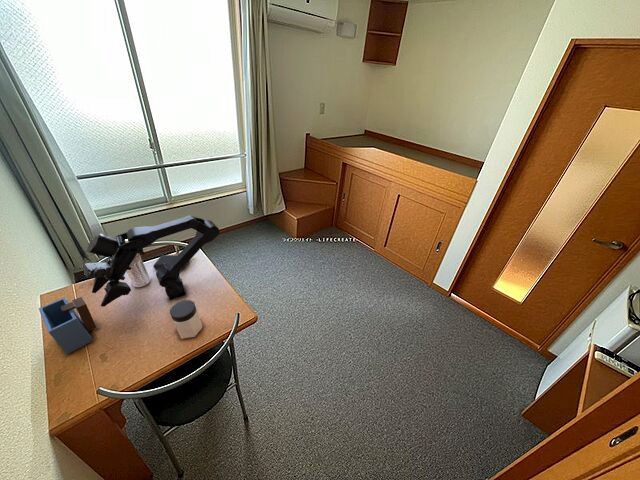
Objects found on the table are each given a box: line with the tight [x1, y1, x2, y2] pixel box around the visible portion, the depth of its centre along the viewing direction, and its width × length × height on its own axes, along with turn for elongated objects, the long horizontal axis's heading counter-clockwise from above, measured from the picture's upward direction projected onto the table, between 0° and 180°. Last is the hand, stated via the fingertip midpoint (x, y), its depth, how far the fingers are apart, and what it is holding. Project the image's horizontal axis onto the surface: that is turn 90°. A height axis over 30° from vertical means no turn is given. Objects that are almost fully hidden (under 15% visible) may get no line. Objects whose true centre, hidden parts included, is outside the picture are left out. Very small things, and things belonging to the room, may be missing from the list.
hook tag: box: [61, 296, 97, 332], centre depth 90 cm, size 6×5×12 cm
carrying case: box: [152, 254, 188, 271], centre depth 125 cm, size 11×3×15 cm
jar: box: [169, 299, 203, 340], centre depth 93 cm, size 9×8×12 cm
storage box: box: [38, 296, 94, 355], centre depth 88 cm, size 7×14×12 cm, turn 51°
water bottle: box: [125, 240, 151, 288], centre depth 108 cm, size 7×7×25 cm
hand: (97, 299), depth 89 cm, fingers open, 9 cm apart
